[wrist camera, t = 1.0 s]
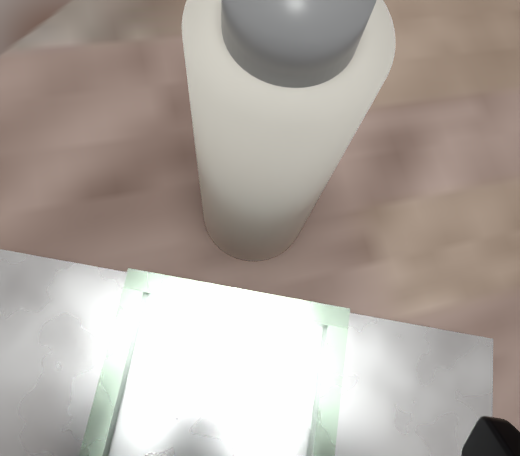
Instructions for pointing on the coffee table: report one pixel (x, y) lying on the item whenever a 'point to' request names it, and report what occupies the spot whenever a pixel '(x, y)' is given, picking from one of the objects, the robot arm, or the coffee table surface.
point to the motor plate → (220, 371)
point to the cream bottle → (277, 107)
